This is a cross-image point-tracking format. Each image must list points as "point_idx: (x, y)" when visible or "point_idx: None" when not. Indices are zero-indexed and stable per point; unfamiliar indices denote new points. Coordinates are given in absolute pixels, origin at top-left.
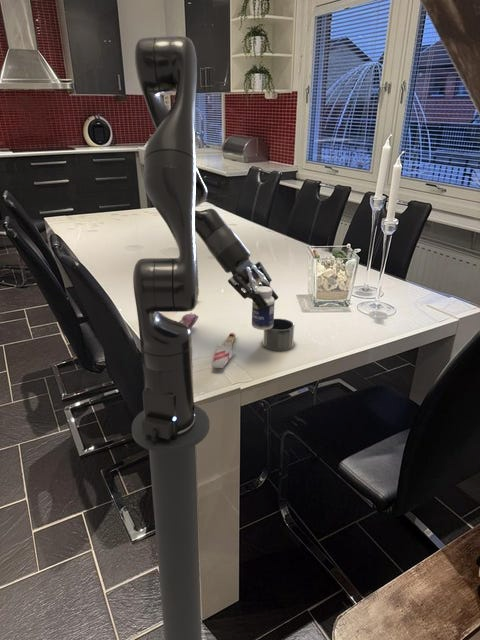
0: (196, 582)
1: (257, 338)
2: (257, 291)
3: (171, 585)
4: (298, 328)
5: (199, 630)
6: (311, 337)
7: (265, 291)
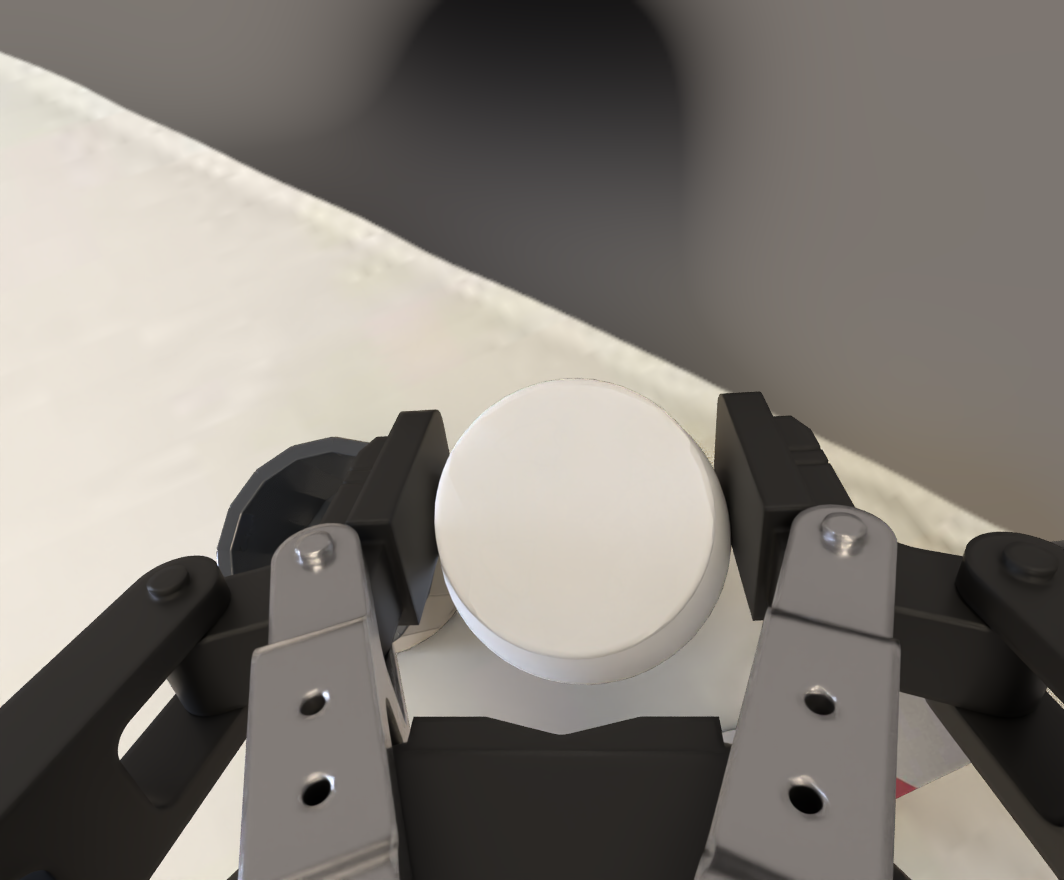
0: None
1: None
2: (804, 518)
3: None
4: (116, 548)
5: None
6: (207, 429)
7: (671, 429)
